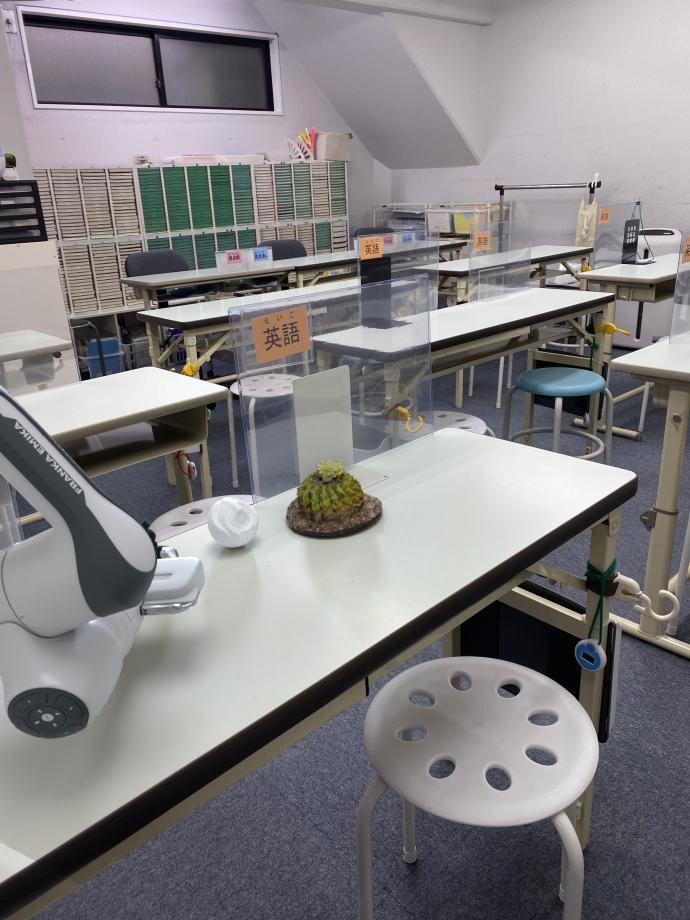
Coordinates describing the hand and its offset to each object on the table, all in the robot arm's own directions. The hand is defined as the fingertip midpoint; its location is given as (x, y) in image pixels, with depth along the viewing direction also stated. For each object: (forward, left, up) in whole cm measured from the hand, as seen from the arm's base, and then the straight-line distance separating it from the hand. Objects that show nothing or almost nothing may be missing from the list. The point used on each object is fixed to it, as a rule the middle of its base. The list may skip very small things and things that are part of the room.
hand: (133, 554), depth 89 cm
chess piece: (0, +7, -9) cm, 11 cm away
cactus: (+26, +26, -9) cm, 38 cm away
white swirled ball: (+10, +18, -9) cm, 22 cm away
